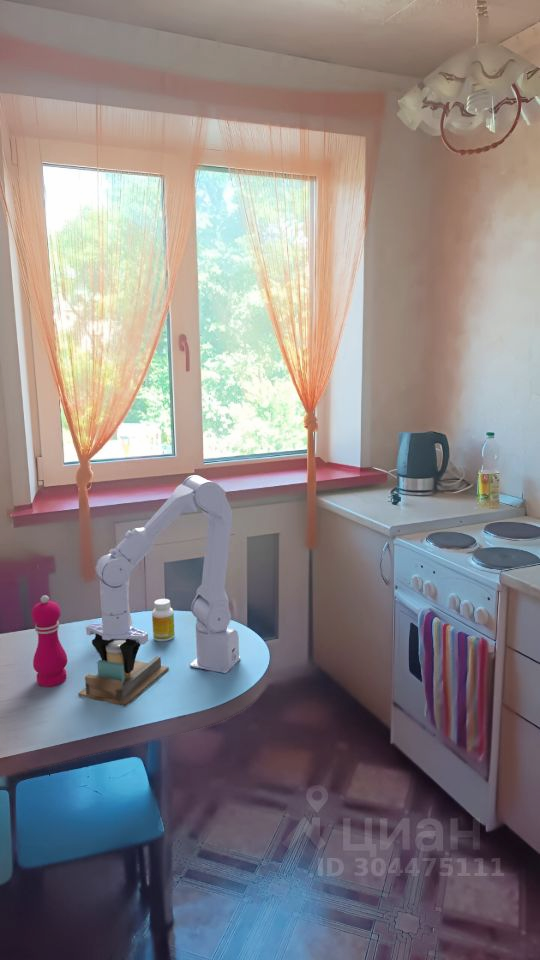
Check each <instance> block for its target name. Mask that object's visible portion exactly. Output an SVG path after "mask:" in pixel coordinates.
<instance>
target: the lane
mask: <svg viewBox="0 0 540 960" xmlns="http://www.w3.org/2000/svg"><path fill="white" fill-rule="evenodd" d="M161 659H162V658H161V656H159V655H157V656H155V657H154V658H153V659H151V661H149V662H145V661H140V660H135V663H134V669H133V670H132V671H131V677H130V678H129V679H128V680H127V681H126V682H124V683H123V681H120V680H115V679H110V678H105V677H100V676H98V673H97V674H96V675H95V674H91V673H90V674H89V673H88V674H86V675H85V676H84V681H85V687H84V688H83V689H81V691H79V692H78V693H77V695H78V696H79V697H82V698H85V699H86V698H87V699H89V700H90V699H92V700H95V701H100V702H104V703H109V704H113V705H118V706H121V707H127V706H128V705H130V704H131V703H132V702H133V701H134V700H135V699H136V698H137V697H139V696H140V695H141V694H142V693H143V692H144V691H146V690H147V689H148V688H150V686H151V685H153V684H154V683H155V682H156V681H157V680H158V679H160V677H161V676H163V675H164V674H166V672H167V671H168V670H169V669H170V668H169V666H166V665H162V661H161Z"/></svg>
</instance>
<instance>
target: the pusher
mask: <svg viewBox="0 0 540 960" xmlns="http://www.w3.org/2000/svg"><path fill="white" fill-rule="evenodd" d="M96 663H97V674H98V676H100V677H105V678H110V679H115V680H120V681H123V683H124V682H125V678H124V664H119V663H114V662H109V661H103V660H102V659H100V660H98V661H97V662H96Z"/></svg>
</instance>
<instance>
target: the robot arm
mask: <svg viewBox="0 0 540 960" xmlns="http://www.w3.org/2000/svg"><path fill="white" fill-rule="evenodd" d="M226 493H227V491H226V490H225V489H224V488H223V487H221V485H219V483H216V482H215V481H212V480H207V479H206V478H204V477H203V476H201V475H196V474H195V475H194V474H193V475H189V476H188V477H186V478H185V479H184V480H183V482H182V483H180V484H178V486H176V487H175V488H174V490H173V493H172V494H171V495H170V496H169V497H168V498H167V500H166V501H165V502H164V503H163V504H162V505H161V506H160V508H159V509H158V510H157V511H156V512H155V513H154V514H153V516H152V517H151V518H150V519H149V520H148V521H147V522H146V523H145V524H144V526H143V527H137V528H136V527H135V528H133V529H132V530H128V531H126V532H125V533H124V535H125V537H124V538H123V540H121V541H120V542H119V543H118V544H117V545H116V547H115V548H111V549H109V551H108V553H107V554H104V555H102V556H101V557H100V558H99V559H98V560H97V562H96V563H97V564H96V566H95V567H94V571H95V573H96V575H97V576H98V577H99V578H100V579H99V588H100V590H99V596H100V610H101V622H102V623H94V622H91V623H90V624H88V625H86V626H85V628H86V630H85V631H86V635H87V636H93V635H94V638H93V639H92V640H91V644H92V646H93V647H94V648H95V650H96V651H97V653H98V654H99V657H100V660H103V661H107V652H106V645H107V644H108V643H110V642H112V641H115V640H124V641H126V642H124V643H123V644H121V645H120V649H121V651H122V654H123V658H124V667H125V672H126V673H130V672H131V671H132V670H133V669H134V663H135V661H136V659H137V654H138V652H139V649H140V647H141V645H142V646H144V645H145V644H147V642H149V633H148V632H146V631H142V630H140V629H138V628H136V627H133V626H132V627H131V626H130V619H129V610H130V606H129V603H130V602H129V603H128V600H129V598H128V589H127V581H128V580H129V579H130V577H131V573H132V570H133V569H134V568H135V566H137V565H138V564H139V562H141V560H142V559H143V558H144V557H145V556H146V555H148V553H149V552H150V551H151V550H152V549H153V548H154V547H155V538H156V537H158V535H160V534H161V533H162V532H163V531H164V530H165V529H166V528H167V527H169V525H170V524H171V523H173V522H174V521H175V520H176V519H178V517H179V516H180V515H181V514H187V513H195V512H196V513H197V512H198V509H197V508H199V510H200V511H201V512H202V513H203V514H204V515H205V516H206V517H207V527H206V528H207V529H206V536H205V537H206V539H205V547H204V555H203V556H204V558H203V567H202V568H203V569H202V576H201V577H202V578H201V584H200V585H199V587H198V588H197V589H196V594H195V597H194V599H193V601H192V603H191V604H190V605H191V607H190V609H191V613H192V615H193V616H194V617H195V618H196V623H195V638H196V641H195V642H196V658H195V659H194V660H193V661H192V662H191V663H190V664H189V667H191V668H196V669H201V670H207V671H212V672H218V673H223V674H226V673H229V671H230V670H231V669H232V668H233V667H234V666H235V664H237V663H238V662H239V660H241V655H240V646H239V644H240V641H239V633H238V630H236V629H233V628H232V627H230V626H229V625H230V622H231V619H232V613H231V611H230V606H229V604H230V600H229V597H228V594H227V592H226V589H225V588H226V578H227V576H226V575H227V570H228V569H227V568H228V561H229V552H230V551H229V550H230V542H231V541H230V540H231V531H232V524H233V522H232V521H233V509H232V508H231V505H230V503H229V500H228V498H227V496H226ZM129 581H130V580H129Z"/></svg>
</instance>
